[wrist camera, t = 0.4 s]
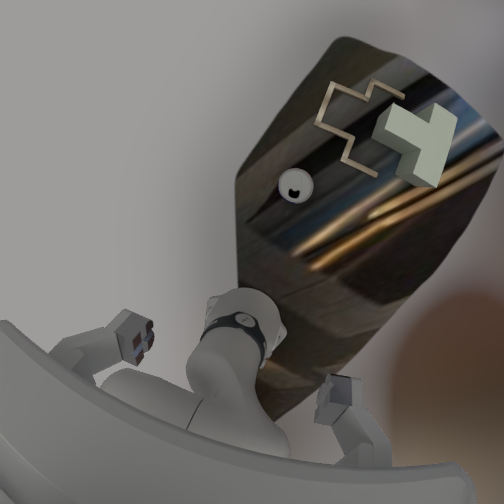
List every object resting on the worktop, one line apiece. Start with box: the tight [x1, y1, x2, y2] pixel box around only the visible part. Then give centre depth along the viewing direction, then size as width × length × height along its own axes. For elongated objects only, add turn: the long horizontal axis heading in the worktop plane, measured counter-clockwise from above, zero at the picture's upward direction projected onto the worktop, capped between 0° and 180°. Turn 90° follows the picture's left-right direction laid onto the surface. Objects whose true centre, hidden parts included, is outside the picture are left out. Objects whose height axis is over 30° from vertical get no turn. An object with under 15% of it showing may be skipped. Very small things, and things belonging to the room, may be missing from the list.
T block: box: [371, 103, 457, 188], centre depth 39 cm, size 14×12×10 cm
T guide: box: [314, 78, 405, 178], centre depth 44 cm, size 19×14×1 cm
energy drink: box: [278, 168, 313, 204], centre depth 45 cm, size 5×5×12 cm
